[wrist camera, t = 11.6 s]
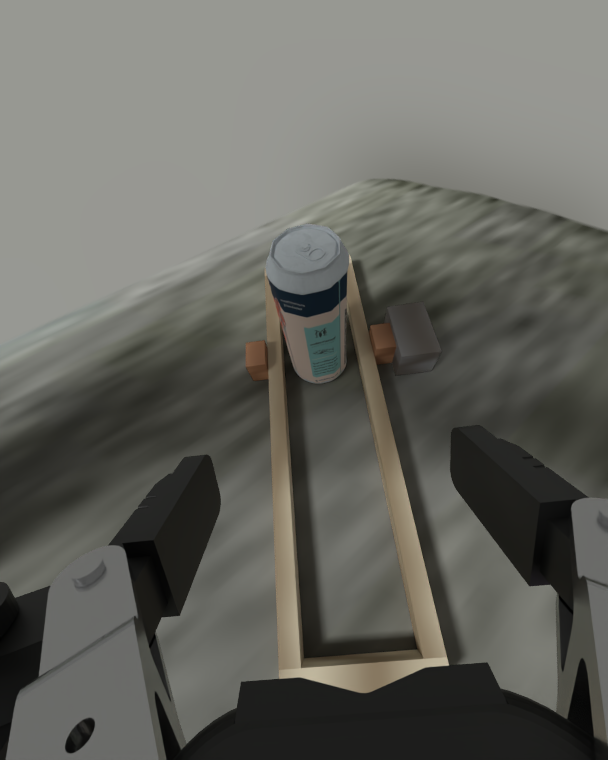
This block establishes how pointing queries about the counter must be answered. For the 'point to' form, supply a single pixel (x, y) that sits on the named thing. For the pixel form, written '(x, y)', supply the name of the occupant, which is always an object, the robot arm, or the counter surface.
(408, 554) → the beam track
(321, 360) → the beer can
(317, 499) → the counter surface
